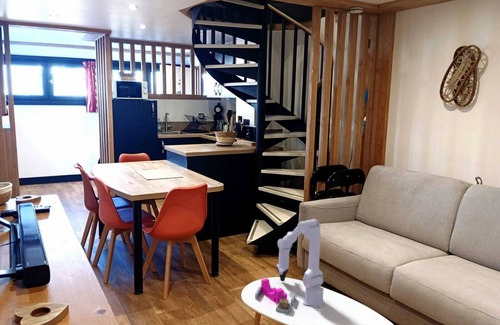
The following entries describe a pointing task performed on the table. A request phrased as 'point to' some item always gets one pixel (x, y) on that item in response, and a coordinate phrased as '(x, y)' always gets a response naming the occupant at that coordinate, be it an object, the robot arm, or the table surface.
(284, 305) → the walnut cube
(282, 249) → the robot arm
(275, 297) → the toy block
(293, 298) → the jig
